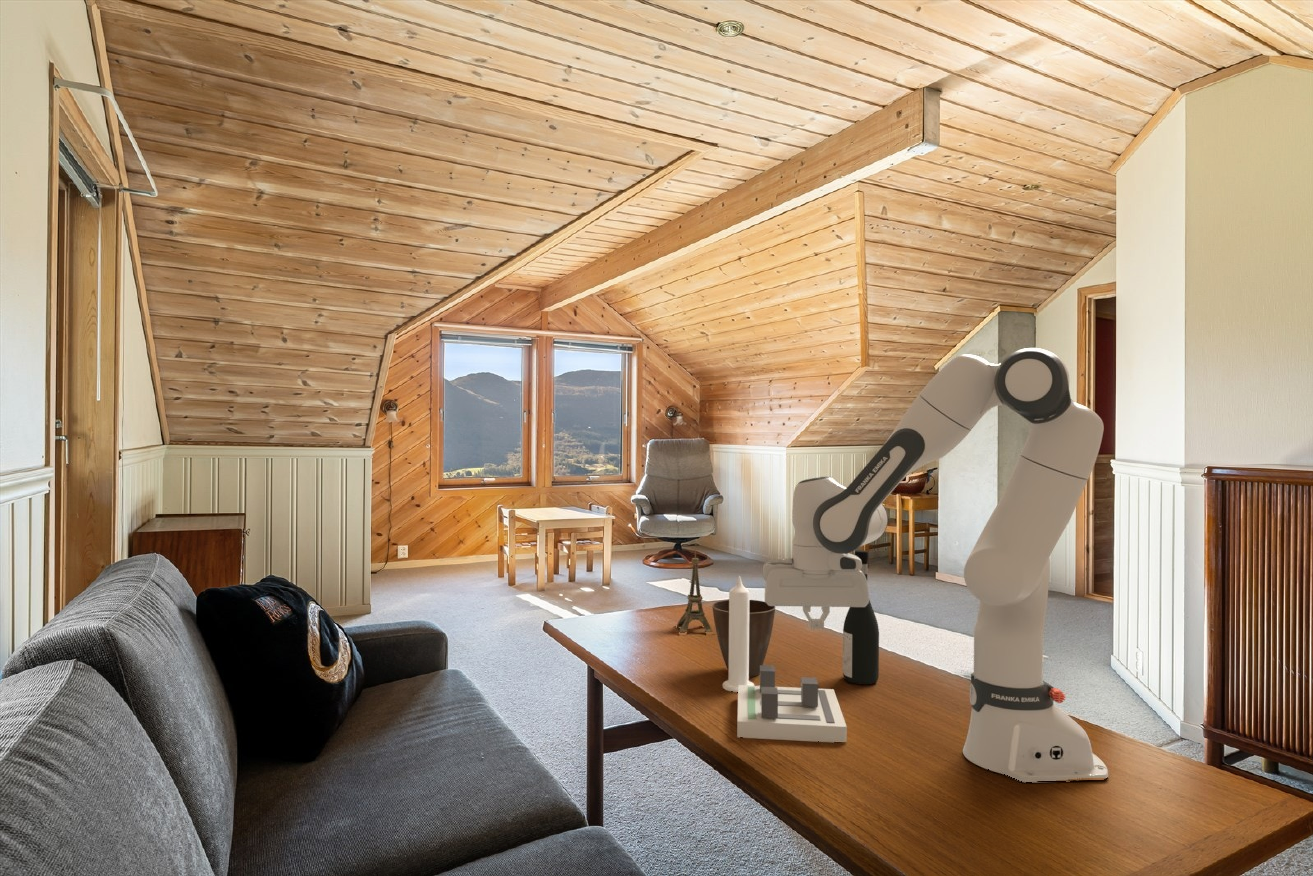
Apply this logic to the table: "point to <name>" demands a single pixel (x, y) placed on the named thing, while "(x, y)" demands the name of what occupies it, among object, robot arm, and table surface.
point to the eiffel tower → (690, 613)
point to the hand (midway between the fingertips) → (816, 628)
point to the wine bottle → (861, 640)
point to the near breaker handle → (769, 702)
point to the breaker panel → (791, 716)
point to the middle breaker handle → (809, 691)
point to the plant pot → (758, 631)
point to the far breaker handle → (767, 676)
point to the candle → (738, 638)
